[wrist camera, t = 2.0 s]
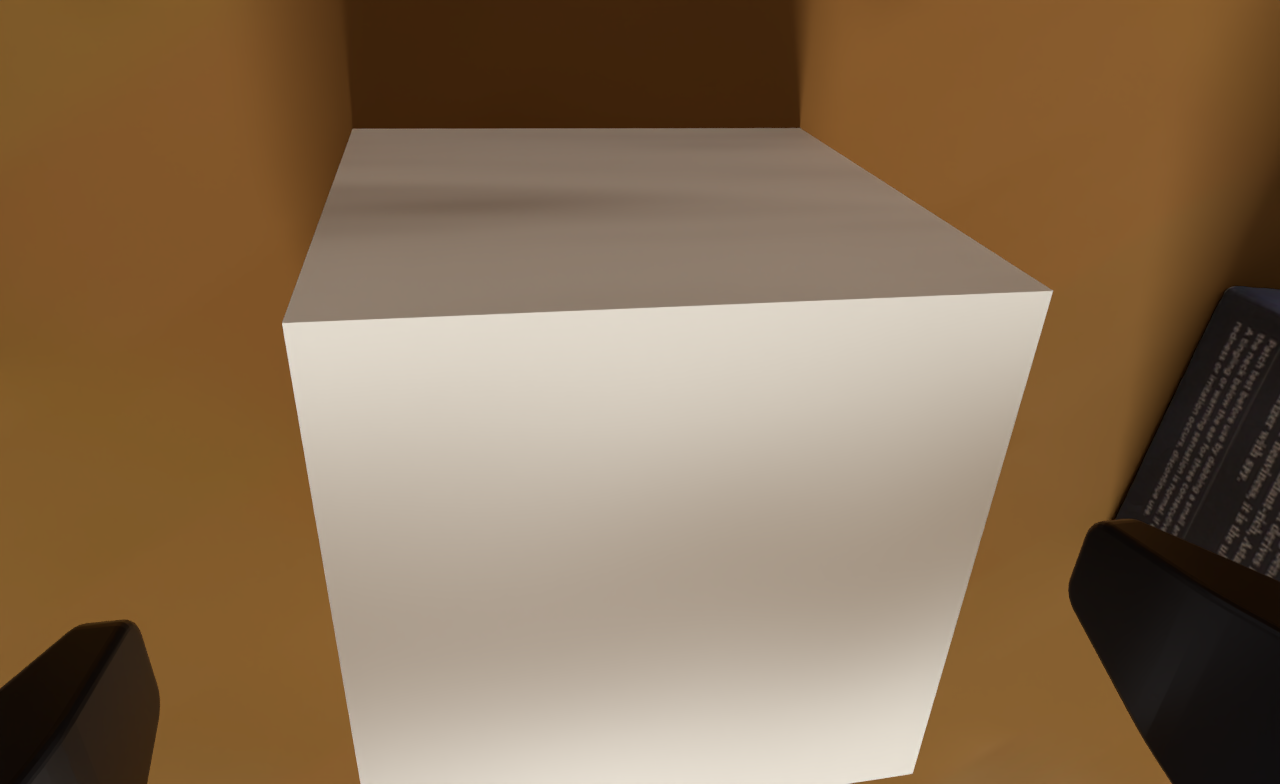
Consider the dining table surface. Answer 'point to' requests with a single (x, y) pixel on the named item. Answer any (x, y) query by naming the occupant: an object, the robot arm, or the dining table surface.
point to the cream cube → (645, 452)
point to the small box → (1222, 440)
